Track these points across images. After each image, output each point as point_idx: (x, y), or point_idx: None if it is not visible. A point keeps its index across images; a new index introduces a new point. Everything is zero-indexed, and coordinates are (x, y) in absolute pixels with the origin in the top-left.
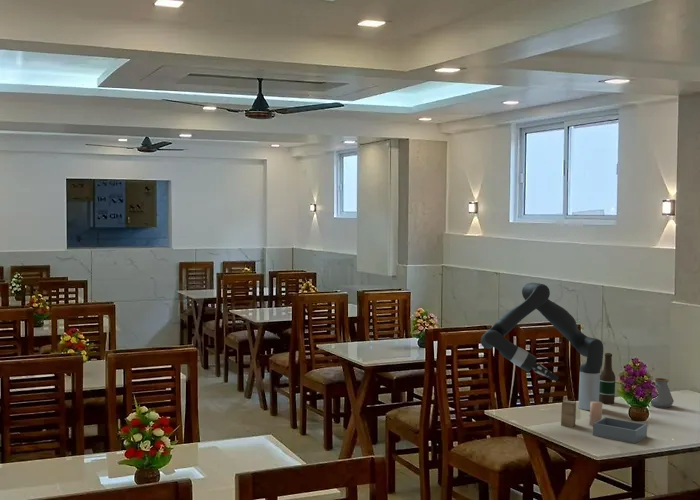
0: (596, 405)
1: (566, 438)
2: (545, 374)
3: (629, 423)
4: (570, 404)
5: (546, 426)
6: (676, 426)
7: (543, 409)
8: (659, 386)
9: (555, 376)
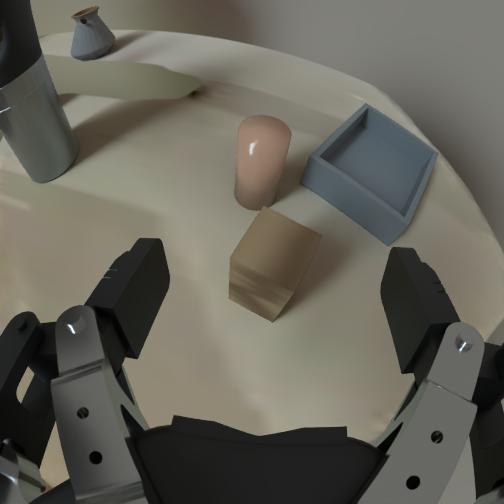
0: (288, 144)
1: None
2: (496, 420)
3: (351, 126)
4: (314, 251)
5: (294, 389)
6: (251, 58)
7: (26, 304)
8: (92, 22)
9: (440, 288)
